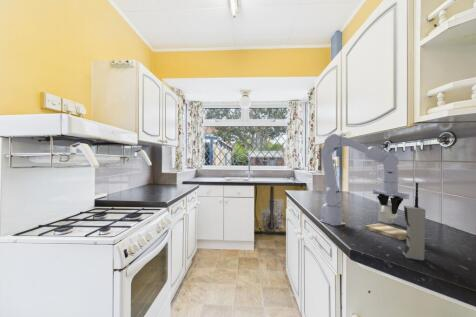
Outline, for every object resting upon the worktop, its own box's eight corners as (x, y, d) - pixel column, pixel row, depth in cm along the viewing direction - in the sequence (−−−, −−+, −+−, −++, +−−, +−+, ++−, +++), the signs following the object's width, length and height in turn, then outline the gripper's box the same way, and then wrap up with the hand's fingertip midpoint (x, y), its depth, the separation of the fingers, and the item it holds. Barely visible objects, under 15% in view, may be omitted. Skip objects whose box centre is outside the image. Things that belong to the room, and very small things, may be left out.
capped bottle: (377, 217, 103) (377, 205, 103) (390, 215, 107) (391, 204, 107) (385, 219, 100) (385, 207, 100) (399, 217, 104) (399, 205, 104)
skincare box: (377, 220, 124) (378, 197, 124) (384, 220, 125) (384, 197, 125) (388, 224, 118) (388, 199, 118) (394, 223, 119) (395, 199, 119)
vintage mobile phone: (402, 253, 81) (404, 181, 81) (420, 256, 79) (422, 182, 79) (405, 258, 78) (407, 182, 77) (424, 260, 76) (426, 183, 75)
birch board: (364, 228, 109) (364, 225, 109) (379, 226, 113) (379, 223, 113) (400, 240, 95) (400, 236, 95) (415, 237, 99) (415, 233, 99)
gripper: (368, 180, 109) (368, 209, 109) (401, 184, 95) (401, 217, 96) (378, 180, 112) (378, 208, 112) (412, 183, 98) (411, 215, 99)
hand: (389, 212), depth 104 cm, fingers closed on capped bottle, 4 cm apart
